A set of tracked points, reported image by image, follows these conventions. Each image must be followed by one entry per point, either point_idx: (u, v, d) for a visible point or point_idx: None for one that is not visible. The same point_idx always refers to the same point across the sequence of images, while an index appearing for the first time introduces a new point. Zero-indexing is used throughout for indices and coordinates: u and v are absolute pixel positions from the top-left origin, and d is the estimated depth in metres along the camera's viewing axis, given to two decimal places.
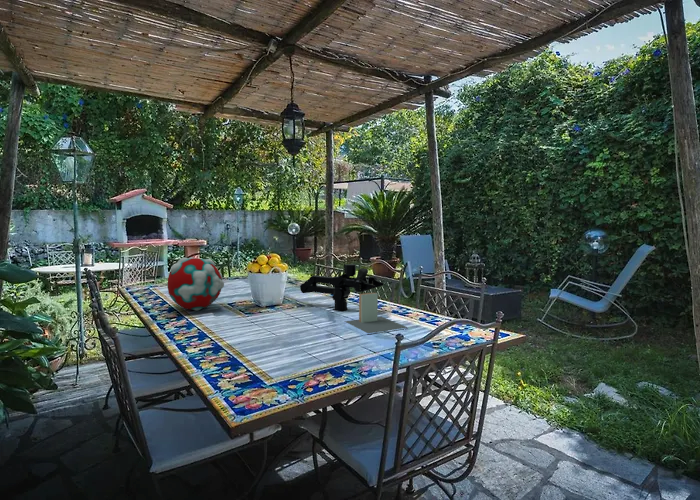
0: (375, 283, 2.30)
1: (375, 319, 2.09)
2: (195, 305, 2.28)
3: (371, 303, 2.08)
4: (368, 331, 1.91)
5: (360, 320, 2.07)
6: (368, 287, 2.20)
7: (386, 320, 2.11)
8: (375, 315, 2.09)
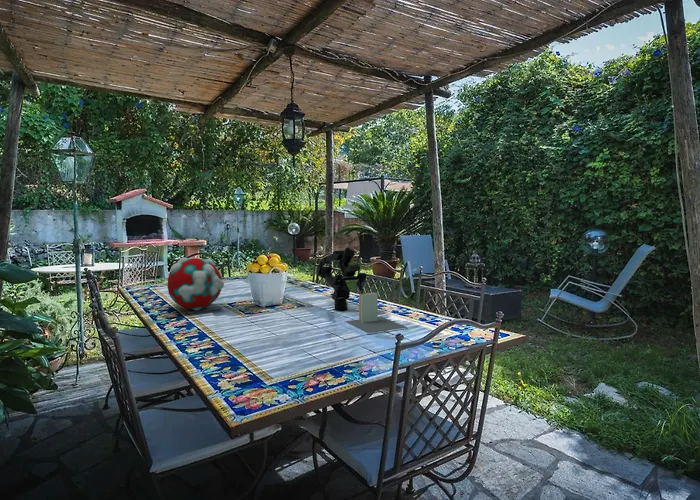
0: (358, 282, 2.26)
1: (375, 319, 2.09)
2: (195, 305, 2.28)
3: (371, 303, 2.08)
4: (368, 331, 1.91)
5: (360, 320, 2.07)
6: (344, 287, 2.21)
7: (386, 320, 2.11)
8: (375, 315, 2.09)
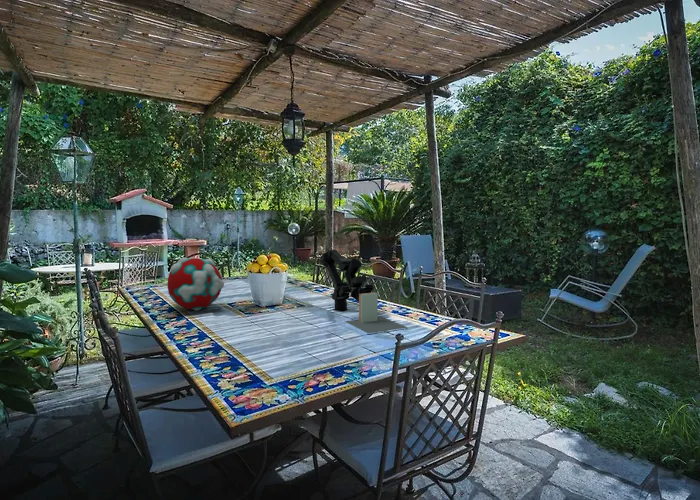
0: None
1: (375, 319, 2.09)
2: (195, 305, 2.28)
3: (371, 303, 2.08)
4: (368, 331, 1.91)
5: (360, 320, 2.07)
6: (356, 298, 2.16)
7: (386, 320, 2.11)
8: (375, 315, 2.09)
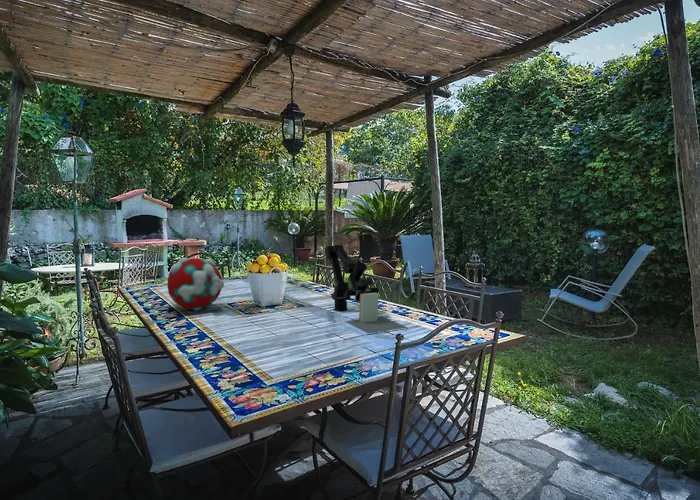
0: None
1: (375, 319, 2.09)
2: (195, 305, 2.28)
3: (372, 303, 2.07)
4: (368, 331, 1.91)
5: (360, 320, 2.07)
6: None
7: (386, 320, 2.11)
8: (375, 315, 2.09)
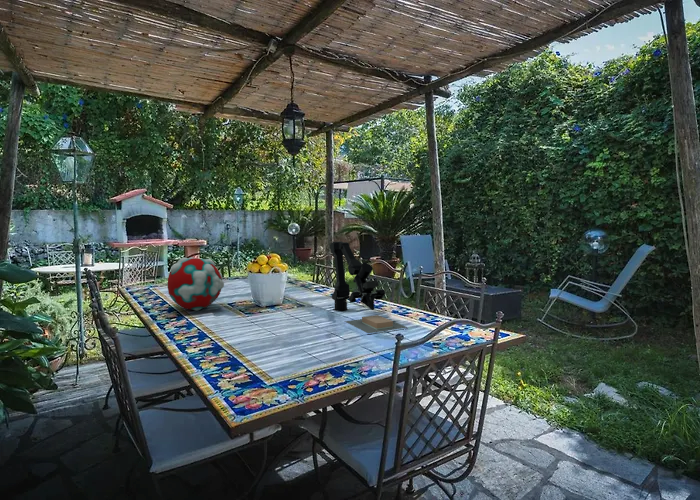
0: None
1: None
2: (195, 305, 2.28)
3: None
4: (368, 331, 1.91)
5: (362, 320, 2.05)
6: (367, 304, 2.06)
7: None
8: None
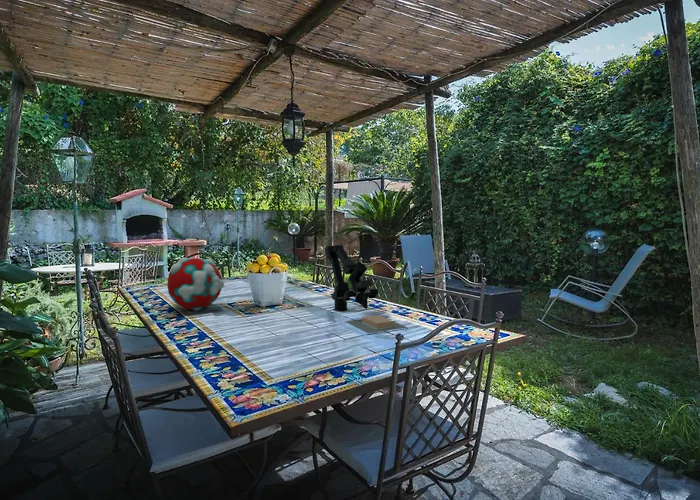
0: None
1: None
2: (195, 305, 2.28)
3: None
4: (368, 331, 1.91)
5: (362, 320, 2.05)
6: (361, 303, 2.12)
7: None
8: None
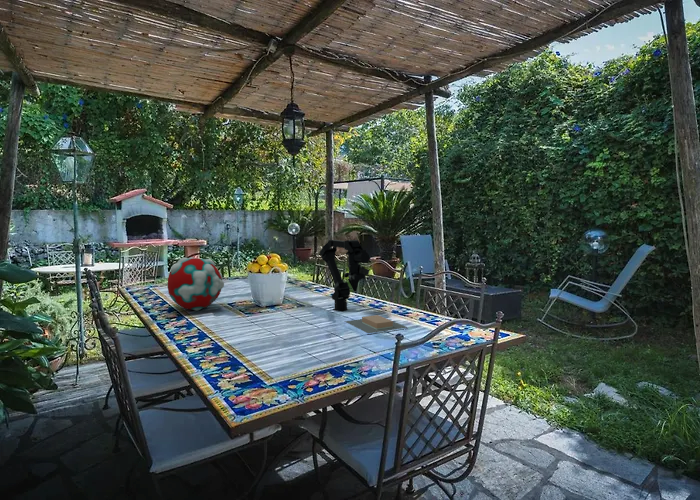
0: None
1: None
2: (195, 305, 2.28)
3: None
4: (368, 331, 1.91)
5: (362, 320, 2.05)
6: (354, 285, 2.24)
7: None
8: None
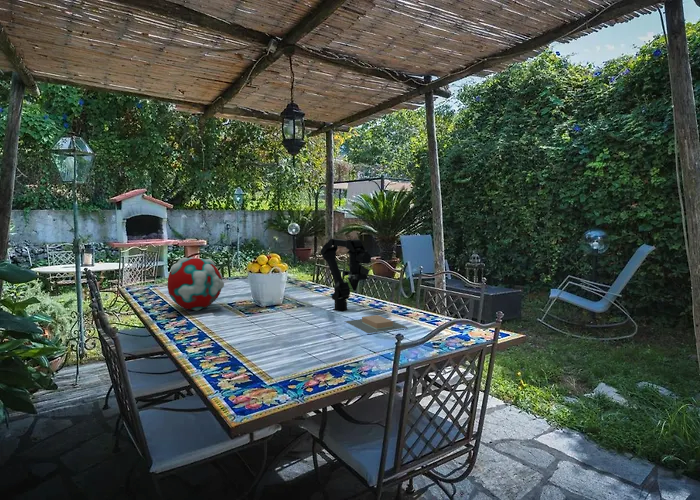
0: None
1: None
2: (195, 305, 2.28)
3: None
4: (368, 331, 1.91)
5: (362, 320, 2.05)
6: (354, 284, 2.25)
7: None
8: None
